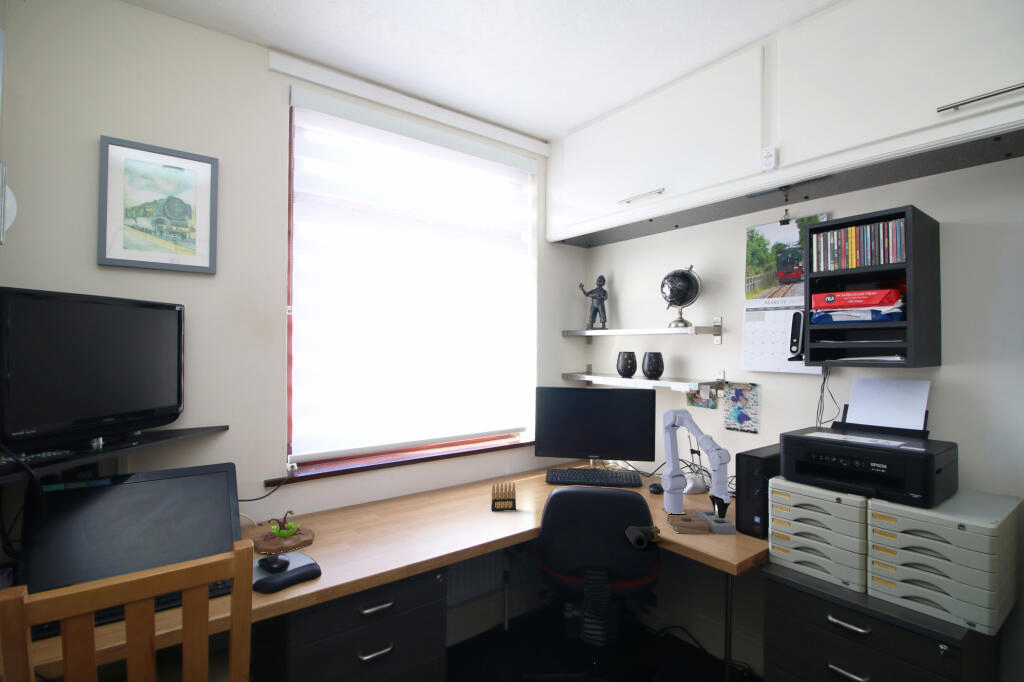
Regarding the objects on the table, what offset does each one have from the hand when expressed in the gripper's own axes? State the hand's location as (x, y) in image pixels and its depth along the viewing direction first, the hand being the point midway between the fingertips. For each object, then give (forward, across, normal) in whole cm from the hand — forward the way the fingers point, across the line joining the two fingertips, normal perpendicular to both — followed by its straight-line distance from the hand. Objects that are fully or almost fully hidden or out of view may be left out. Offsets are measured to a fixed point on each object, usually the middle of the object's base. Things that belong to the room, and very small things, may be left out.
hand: (719, 516), depth 190 cm
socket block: (+5, -2, -12) cm, 13 cm away
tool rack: (+5, -4, 0) cm, 7 cm away
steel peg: (+4, 0, 0) cm, 4 cm away
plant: (+6, +15, -162) cm, 162 cm away
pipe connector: (+6, +12, -33) cm, 35 cm away
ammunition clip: (+5, -22, -84) cm, 87 cm away
